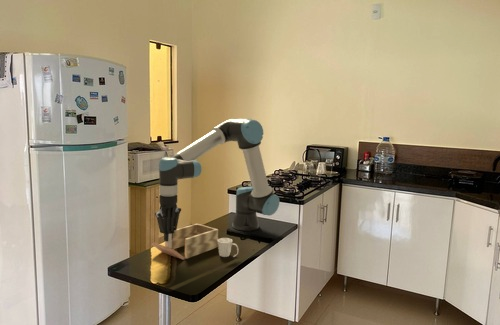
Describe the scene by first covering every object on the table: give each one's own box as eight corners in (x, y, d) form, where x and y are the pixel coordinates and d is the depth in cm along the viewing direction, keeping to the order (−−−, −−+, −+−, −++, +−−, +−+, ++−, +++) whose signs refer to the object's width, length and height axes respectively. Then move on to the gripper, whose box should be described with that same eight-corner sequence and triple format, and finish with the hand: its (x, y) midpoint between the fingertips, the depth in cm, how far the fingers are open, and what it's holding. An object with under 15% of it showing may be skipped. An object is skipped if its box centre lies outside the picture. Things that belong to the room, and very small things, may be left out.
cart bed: (196, 242, 191) (197, 223, 189) (217, 249, 182) (218, 229, 181) (165, 253, 175) (165, 232, 174) (186, 261, 166) (186, 239, 165)
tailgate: (164, 250, 174) (152, 241, 168) (185, 258, 166) (173, 249, 160) (163, 253, 174) (151, 244, 168) (184, 261, 166) (172, 252, 159)
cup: (220, 253, 177) (220, 236, 176) (240, 257, 174) (241, 239, 173) (214, 259, 170) (214, 241, 169) (235, 262, 167) (235, 244, 166)
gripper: (174, 190, 171) (173, 241, 174) (150, 195, 161) (150, 249, 164) (185, 193, 166) (185, 245, 169) (162, 198, 156) (162, 254, 159)
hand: (168, 247), depth 167 cm, fingers closed
